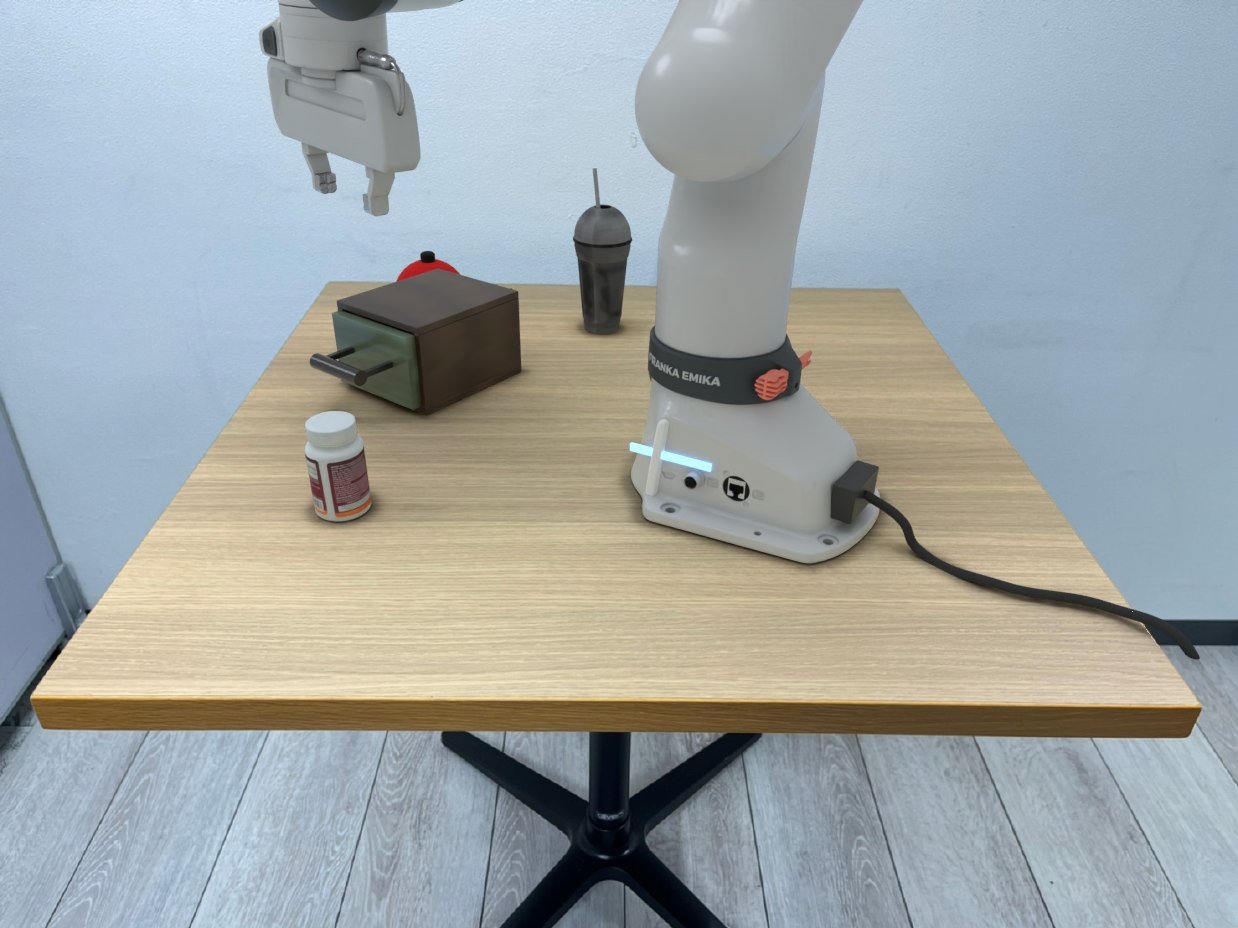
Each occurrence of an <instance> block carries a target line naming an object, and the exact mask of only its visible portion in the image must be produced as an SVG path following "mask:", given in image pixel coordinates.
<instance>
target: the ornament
mask: <svg viewBox="0 0 1238 928" xmlns="http://www.w3.org/2000/svg"><path fill="white" fill-rule="evenodd" d="M419 256H420V257H419V258H420V259H418V260H415V261H413V262H411V263H410V264H408V265H407V266H406V267H405V268H403V269H402V271H400V273H399V275H398V276H397V279H396V280H395V282H397V281H400V280H403V279H407V278H410V277H413V276H416V275H419V274H422V273H426V272H429V271H432V270H435V269H442V270H445V271H449V272H453V273H456V274H460V275H461V273H460V272H459V271H458V270H457V269H456V268H455V266H453V265H451V264H450V263H449V262H446V261H444V260H441V259H438V258H436V254H435V252H434V251H432V250H423V251H421V253H420V254H419Z"/></svg>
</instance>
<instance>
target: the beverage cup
mask: <svg viewBox="0 0 1238 928" xmlns="http://www.w3.org/2000/svg"><path fill="white" fill-rule="evenodd" d="M592 177H593V188H594V199H595V205H593V206H590V207H589V208H587V209H585V210H584V212H582V214H581V215H579V218H578V220H577V221H576V224H575V225H574V226H575V227H574V232H573V236H572V241H573V243H574V249H575V250H574V251H575V256H576V258H577V267H578V268H577V269H578V281H579V290H580V301H581V314H582V319H583V328H584V329H583V330H584V331H586V332H587V333H589V334H593V335H600V336H601V335H610V334H611V335H612V334H614V333H617V332H618V331H619V330H620V325H621V318H622V312H623V303H624V296H625V295H624V293H625V284H626V275H627V265H628V258H629V256H630V252H631V246H632V245H631V244H632V242H633V236H632V231H631V226H630V224H629V221H628V220H627V218H626V216H625V215H624V213H623V212H621V210H620V209H619V208H617V207H615V206H612V205H610V204H603V203H602V204H601V199H600V188H599V187H600V186H599V176H598V168H596V167H594V168H592Z"/></svg>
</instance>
